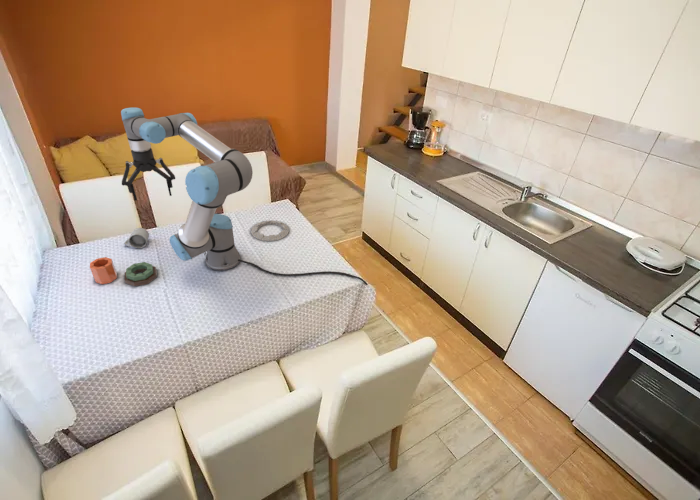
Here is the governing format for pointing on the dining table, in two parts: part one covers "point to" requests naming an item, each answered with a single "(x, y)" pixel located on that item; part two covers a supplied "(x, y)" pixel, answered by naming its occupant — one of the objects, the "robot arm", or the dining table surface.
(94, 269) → the orange hollow faceted cylinder
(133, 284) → the walnut ring
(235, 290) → the dining table surface
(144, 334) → the dining table surface
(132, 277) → the sage ring
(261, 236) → the ring
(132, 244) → the grey flanged cylinder
